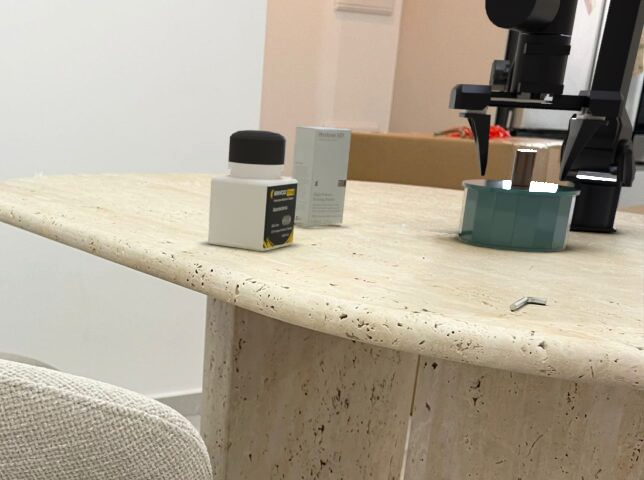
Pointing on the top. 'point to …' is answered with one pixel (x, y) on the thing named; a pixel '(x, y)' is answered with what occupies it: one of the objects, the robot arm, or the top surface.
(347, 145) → the cosmetic box
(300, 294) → the top surface
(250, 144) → the medicine bottle
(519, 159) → the lid
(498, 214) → the tin
